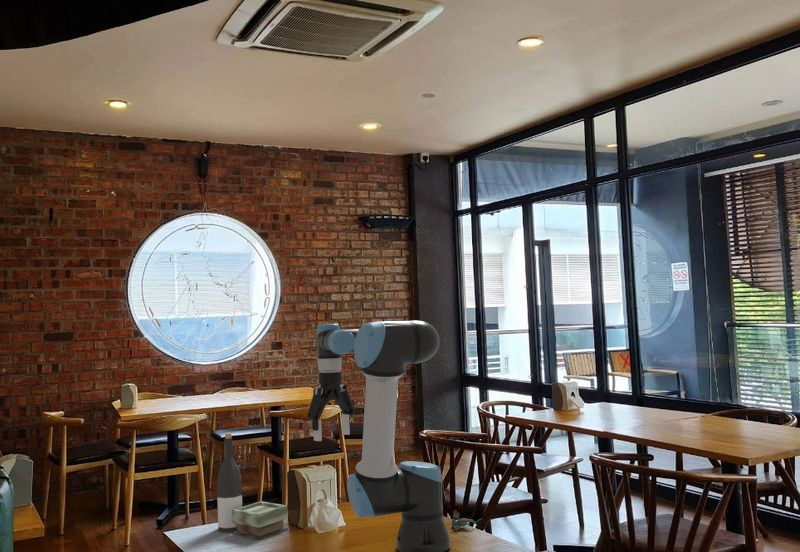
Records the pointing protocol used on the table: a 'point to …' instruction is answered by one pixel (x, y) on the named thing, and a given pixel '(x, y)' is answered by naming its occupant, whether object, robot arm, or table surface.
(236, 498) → the wine bottle
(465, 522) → the dragon figurine
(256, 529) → the two-tone layered tray
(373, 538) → the table surface
